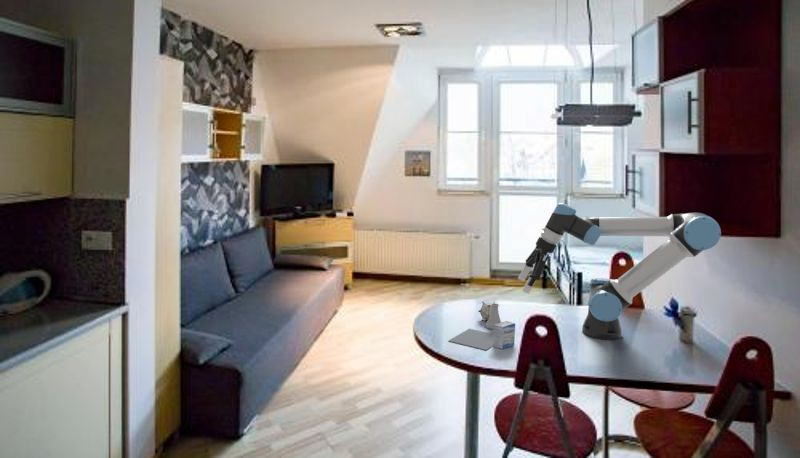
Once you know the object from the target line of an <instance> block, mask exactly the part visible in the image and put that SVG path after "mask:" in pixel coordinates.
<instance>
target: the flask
mask: <svg viewBox="0 0 800 458" xmlns="http://www.w3.org/2000/svg"><path fill="white" fill-rule="evenodd" d="M490 304H491V306H492V310H491V314H490V316H489V319H488V320H487V321H486V324H485V327H486V328H487V329H488V330H489V329H490V330H494V325H495V324H499V323H502V321H501V318H500V314H499V307H500V306H499V305H500V304H499V303H496V302H495V303H494V302H493V303H490Z"/></svg>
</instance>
